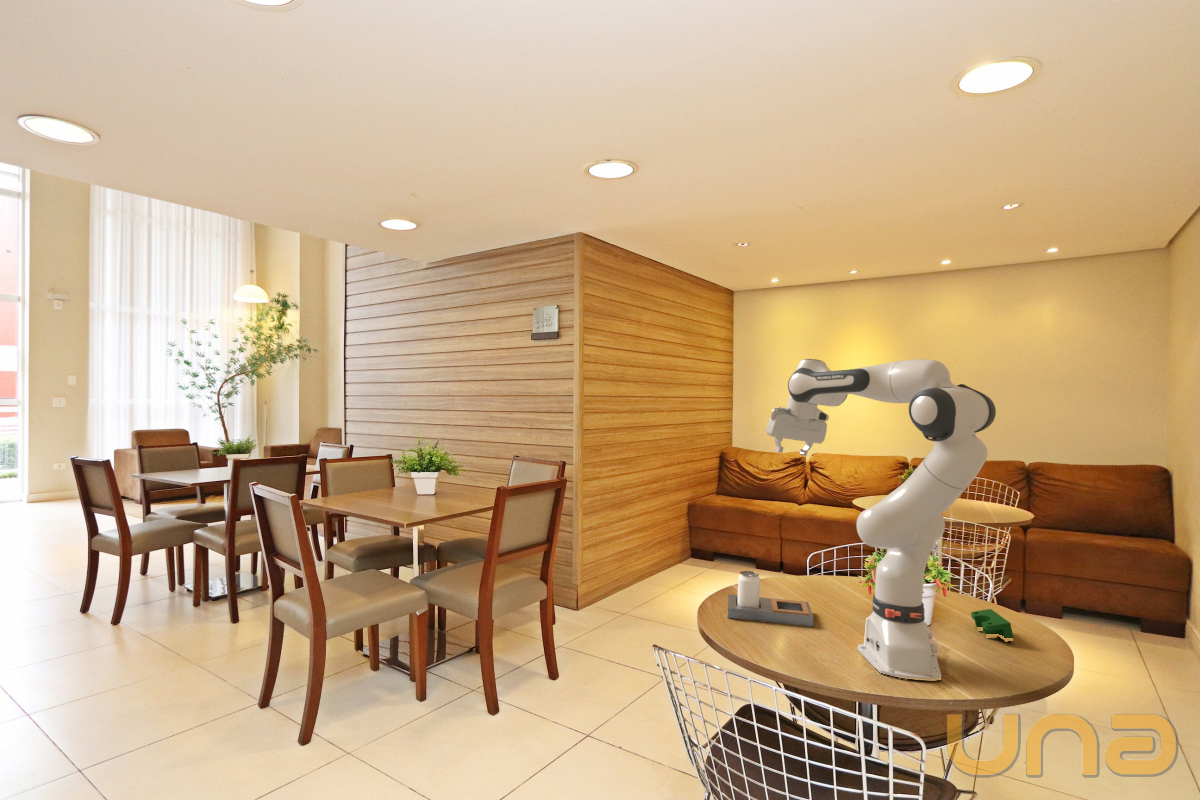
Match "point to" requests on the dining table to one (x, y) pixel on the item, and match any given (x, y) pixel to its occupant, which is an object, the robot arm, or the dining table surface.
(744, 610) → the grey tray
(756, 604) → the can
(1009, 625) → the clamp
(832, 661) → the dining table surface
